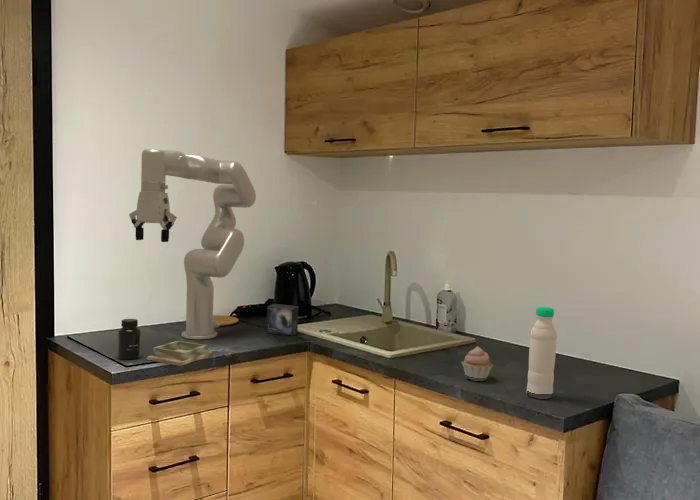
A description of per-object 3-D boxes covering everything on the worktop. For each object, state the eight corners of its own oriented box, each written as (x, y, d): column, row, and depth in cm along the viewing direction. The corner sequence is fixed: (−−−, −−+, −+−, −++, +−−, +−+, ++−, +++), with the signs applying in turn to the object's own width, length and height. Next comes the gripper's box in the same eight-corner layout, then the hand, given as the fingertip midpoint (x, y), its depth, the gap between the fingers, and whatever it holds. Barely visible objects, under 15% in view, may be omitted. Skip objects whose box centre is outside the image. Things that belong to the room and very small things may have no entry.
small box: (265, 333, 254) (266, 306, 253) (272, 330, 261) (273, 303, 260) (291, 336, 251) (292, 308, 250) (298, 333, 257) (299, 305, 256)
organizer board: (181, 349, 226) (181, 339, 226) (212, 354, 221) (213, 344, 220) (147, 359, 212) (147, 348, 212) (180, 365, 206) (180, 354, 206)
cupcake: (482, 374, 210) (484, 342, 209) (497, 382, 201) (499, 349, 200) (455, 375, 207) (456, 343, 206) (468, 384, 198) (470, 350, 197)
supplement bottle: (133, 361, 210) (133, 322, 209) (113, 359, 211) (113, 321, 210) (144, 355, 217) (144, 318, 216) (124, 354, 218) (125, 317, 217)
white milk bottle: (527, 399, 186) (533, 309, 184) (525, 391, 193) (530, 304, 191) (554, 401, 185) (560, 310, 183) (550, 393, 192) (556, 306, 190)
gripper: (182, 189, 220) (181, 242, 221) (138, 187, 226) (137, 238, 227) (169, 188, 213) (168, 243, 214) (123, 186, 219) (122, 239, 220)
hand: (152, 240), depth 221 cm, fingers open, 9 cm apart
